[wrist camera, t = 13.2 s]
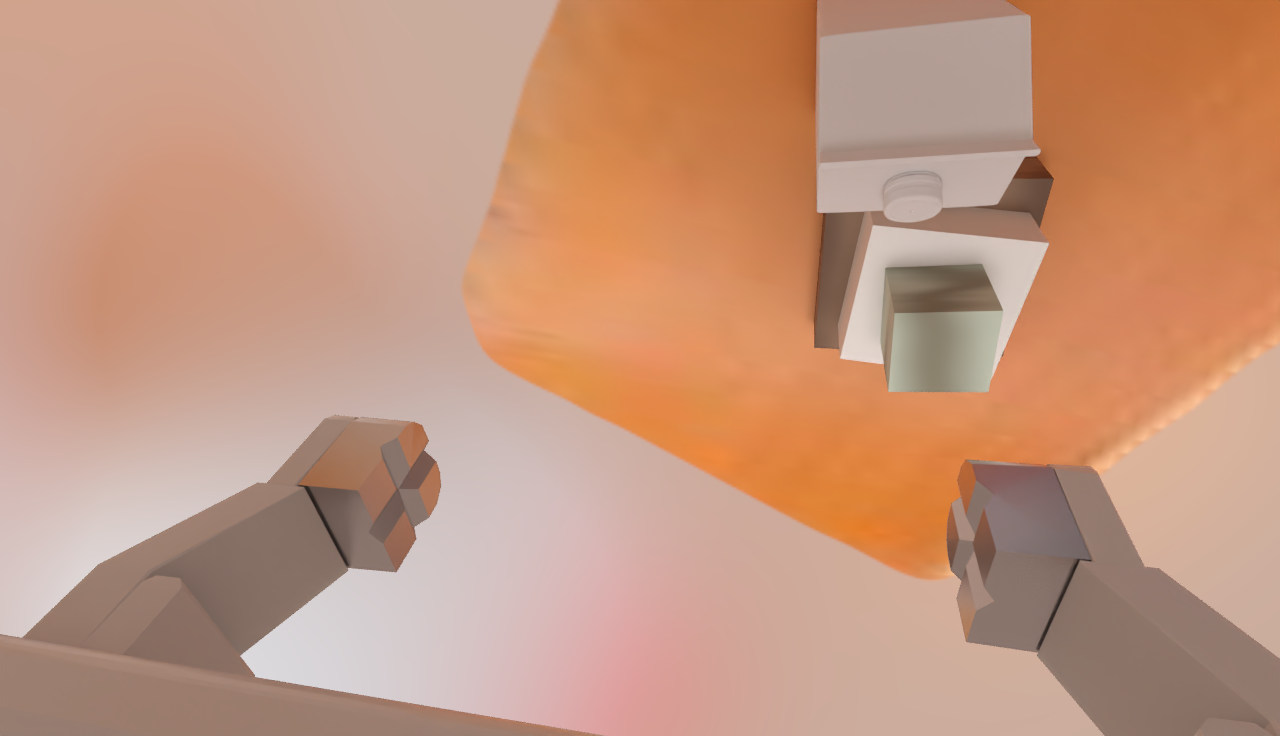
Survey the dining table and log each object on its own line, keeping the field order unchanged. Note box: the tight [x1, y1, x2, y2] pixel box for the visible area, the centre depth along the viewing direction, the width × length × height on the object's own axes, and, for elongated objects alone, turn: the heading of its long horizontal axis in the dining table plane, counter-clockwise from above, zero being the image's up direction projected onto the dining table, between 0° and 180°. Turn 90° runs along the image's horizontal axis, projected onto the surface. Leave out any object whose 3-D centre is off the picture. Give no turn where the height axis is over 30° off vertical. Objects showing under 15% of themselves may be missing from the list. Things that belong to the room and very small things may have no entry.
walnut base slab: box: [814, 158, 1054, 357], centre depth 43 cm, size 12×12×4 cm
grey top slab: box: [838, 207, 1049, 378], centre depth 40 cm, size 9×9×4 cm
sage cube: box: [880, 264, 1003, 392], centre depth 37 cm, size 5×5×5 cm
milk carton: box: [815, 0, 1041, 222], centre depth 30 cm, size 7×7×19 cm
